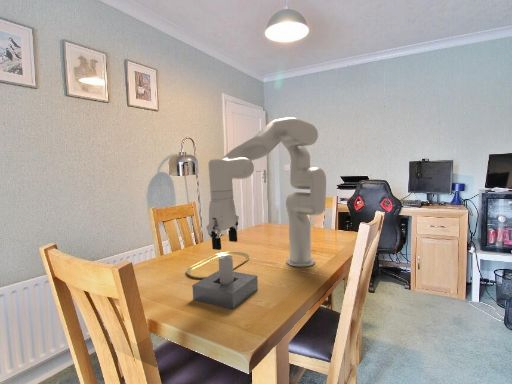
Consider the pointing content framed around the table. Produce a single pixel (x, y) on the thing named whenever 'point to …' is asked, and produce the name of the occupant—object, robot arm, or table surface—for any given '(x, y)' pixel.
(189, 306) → the table surface
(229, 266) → the beverage can
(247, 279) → the socket block
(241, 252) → the gold oval ring
